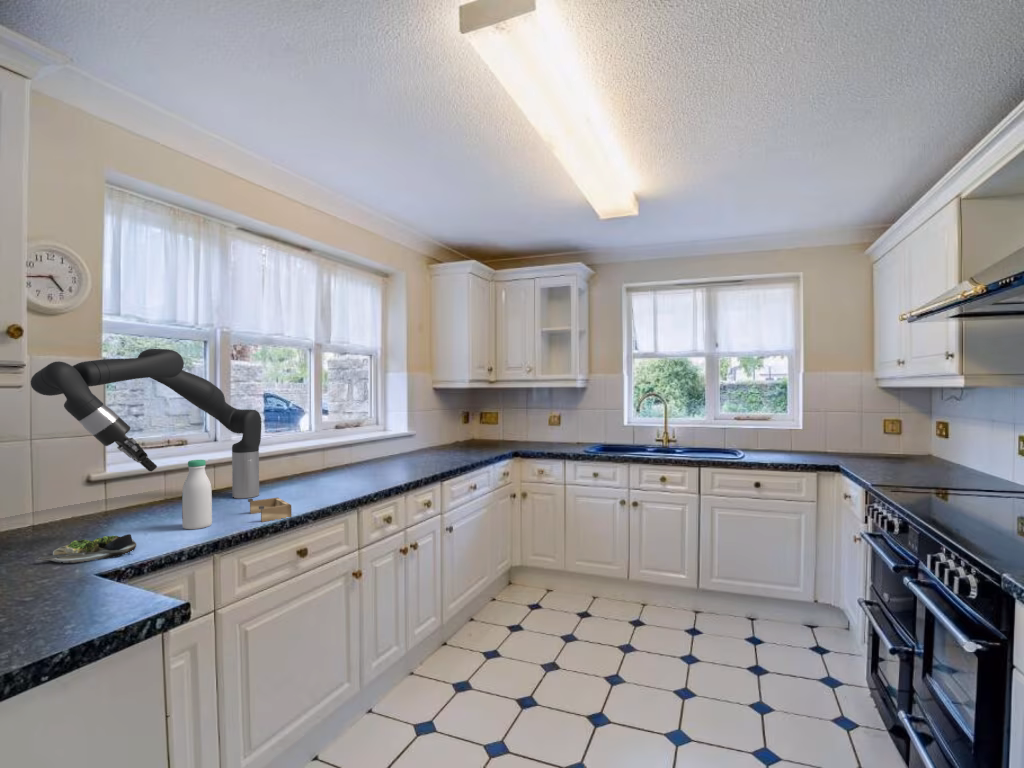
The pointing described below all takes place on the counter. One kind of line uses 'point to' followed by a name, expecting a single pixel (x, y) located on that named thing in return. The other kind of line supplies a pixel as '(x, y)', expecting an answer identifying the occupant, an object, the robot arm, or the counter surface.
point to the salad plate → (92, 549)
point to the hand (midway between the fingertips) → (153, 469)
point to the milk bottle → (196, 497)
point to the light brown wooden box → (270, 508)
